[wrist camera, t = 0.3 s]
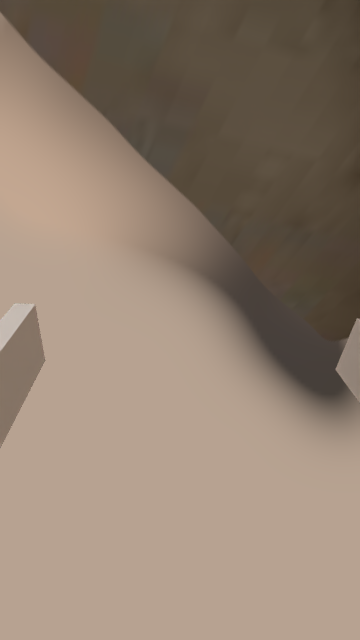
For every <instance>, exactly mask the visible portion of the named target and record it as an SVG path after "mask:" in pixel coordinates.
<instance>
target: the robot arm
mask: <svg viewBox="0 0 360 640" xmlns="http://www.w3.org/2000/svg"><path fill="white" fill-rule="evenodd" d="M44 362H45V357H44V351H43V346H42V340H41V334H40V329H39V323H38V318H37V312H36V307H35V304H16V303H15V304H14V305H13V306H12V307H11V308H10V309H9V311H8V312H7V313H6V314H5V315H4V316H3V318H2V319H1V320H0V448H1V446H2V444H3V442H4V440H5V438H6V436H7V434H8V432H9V430H10V428H11V426H12V424H13V422H14V420H15V418H16V416H17V414H18V413H19V411H20V408H21V407H22V405H23V403H24V401H25V399H26V397H27V395H28V393H29V391H30V389H31V387H32V385H33V383H34V381H35V379H36V377H37V375H38V373H39V372H40V370H41V367H42V366H43V364H44ZM335 370H336V371H337V372H338V374H339V375H340V376H341V378H342V379H343V380H344V382H345V383H346V385H347V386H348V387H349V389H350V390H351V392H352V393H353V394H354V396H355V397H356V399H357V400H358V401H359V403H360V319H356V322H355V324H354V326H353V329H352V331H351V334H350V336H349V338H348V341H347V343H346V346H345V348H344V350H343V353H342V355H341V357H340V360H339V362H338V364H337V367H336V369H335Z"/></svg>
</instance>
